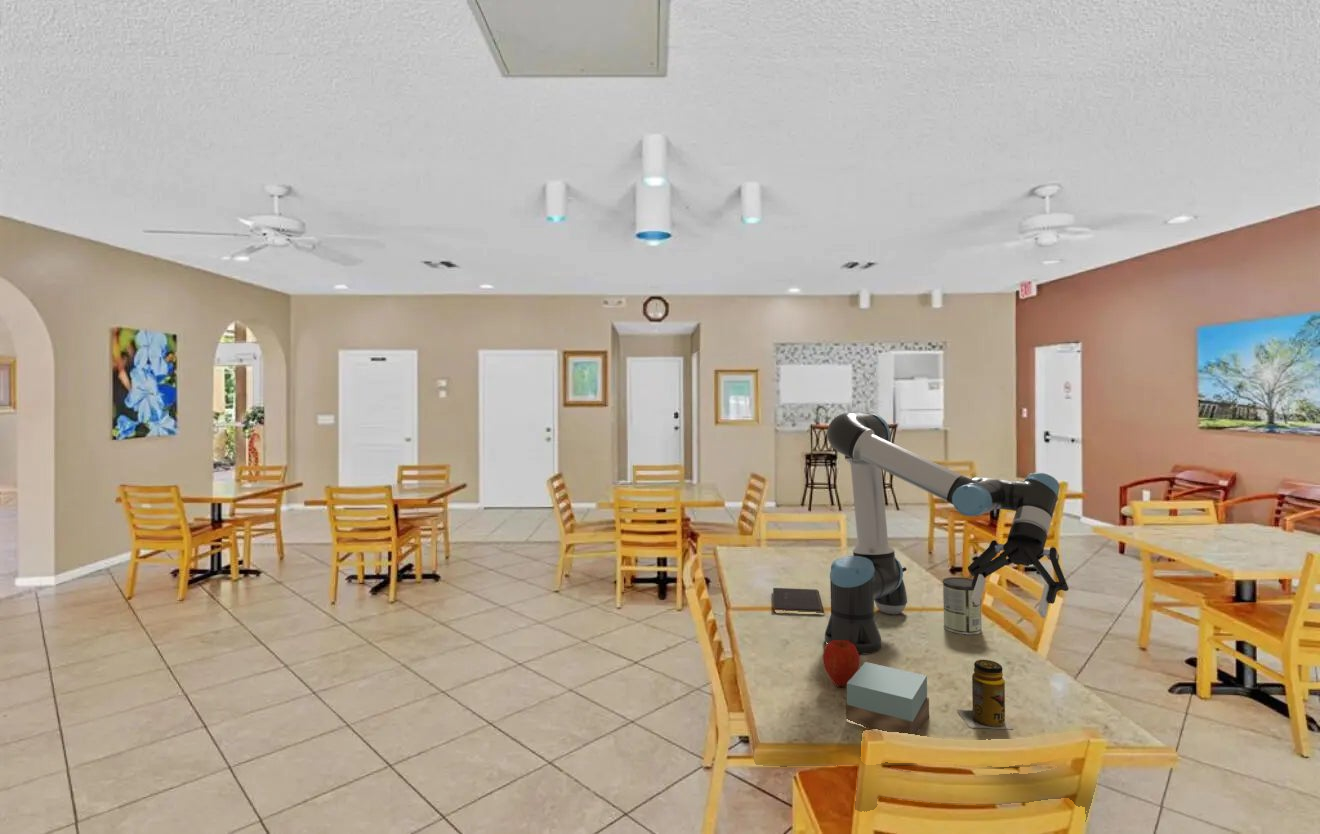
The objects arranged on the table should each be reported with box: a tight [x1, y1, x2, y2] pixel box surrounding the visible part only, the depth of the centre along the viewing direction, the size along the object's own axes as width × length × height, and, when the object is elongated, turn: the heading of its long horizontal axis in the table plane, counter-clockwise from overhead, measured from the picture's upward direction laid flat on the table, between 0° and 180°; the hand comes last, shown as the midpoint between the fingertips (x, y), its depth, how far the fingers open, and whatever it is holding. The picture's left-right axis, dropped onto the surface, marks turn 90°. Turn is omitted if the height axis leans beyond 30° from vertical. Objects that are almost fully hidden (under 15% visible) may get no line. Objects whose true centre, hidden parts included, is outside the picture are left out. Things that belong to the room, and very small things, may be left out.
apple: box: [822, 640, 861, 687], centre depth 146 cm, size 9×8×11 cm
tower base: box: [845, 696, 930, 735], centre depth 130 cm, size 13×13×4 cm
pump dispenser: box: [874, 566, 908, 615], centre depth 199 cm, size 10×10×15 cm
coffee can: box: [942, 576, 983, 636], centre depth 182 cm, size 10×10×14 cm
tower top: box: [846, 661, 928, 722], centre depth 130 cm, size 13×13×4 cm
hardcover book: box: [772, 587, 825, 614], centre depth 209 cm, size 16×23×2 cm
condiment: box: [956, 659, 1014, 730], centre depth 129 cm, size 7×8×12 cm
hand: (1006, 607), depth 135 cm, fingers open, 13 cm apart
